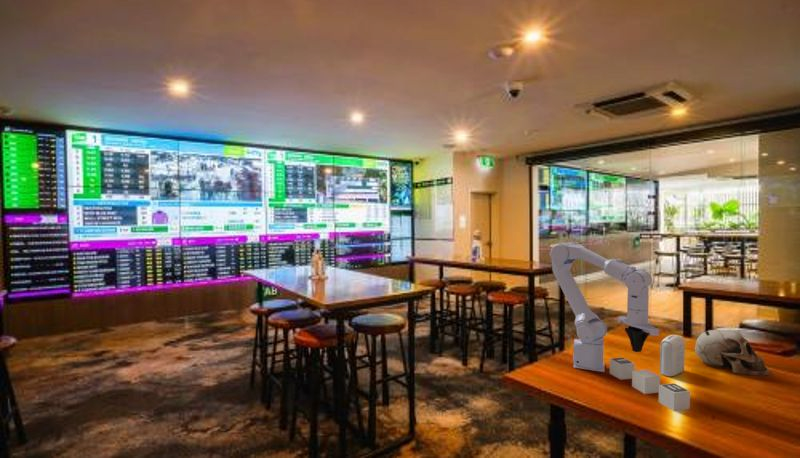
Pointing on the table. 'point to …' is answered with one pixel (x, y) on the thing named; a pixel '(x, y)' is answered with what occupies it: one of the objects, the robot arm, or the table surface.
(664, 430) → the table surface
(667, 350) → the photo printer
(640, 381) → the plain block
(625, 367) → the marked block 1
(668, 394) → the marked block 2
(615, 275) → the robot arm
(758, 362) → the grey skull
